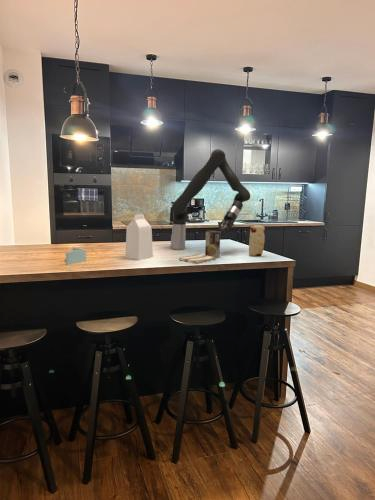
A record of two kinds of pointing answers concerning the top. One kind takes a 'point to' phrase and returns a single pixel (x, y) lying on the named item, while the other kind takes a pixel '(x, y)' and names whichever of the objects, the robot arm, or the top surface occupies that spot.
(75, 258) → the l-shaped corner panel
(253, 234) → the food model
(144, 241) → the milk
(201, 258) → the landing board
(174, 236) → the robot arm
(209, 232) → the coffee box
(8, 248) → the top surface
